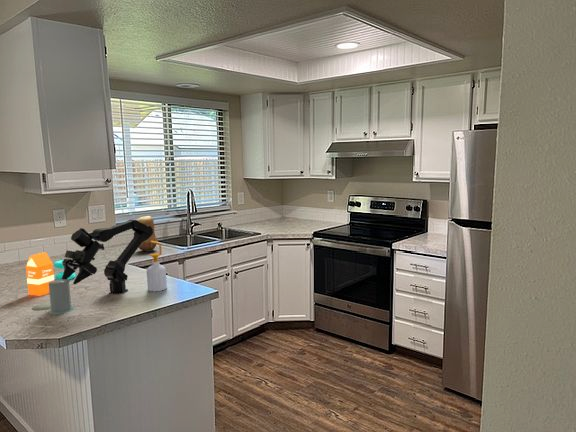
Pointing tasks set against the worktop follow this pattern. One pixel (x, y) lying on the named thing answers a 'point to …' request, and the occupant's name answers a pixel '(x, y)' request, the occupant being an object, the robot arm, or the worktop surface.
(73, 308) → the teal disc stand
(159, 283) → the soap bottle
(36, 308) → the mat
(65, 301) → the grey canister
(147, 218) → the butternut squash
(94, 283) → the worktop surface
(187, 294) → the worktop surface
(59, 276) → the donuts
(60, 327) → the worktop surface
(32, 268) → the orange juice
